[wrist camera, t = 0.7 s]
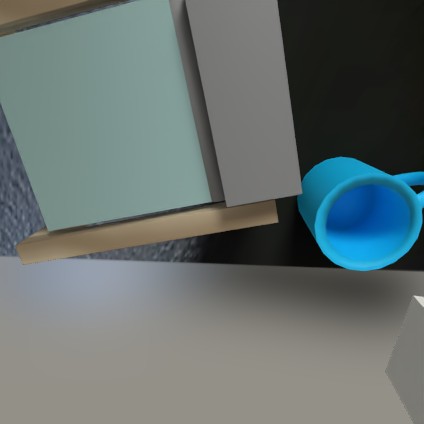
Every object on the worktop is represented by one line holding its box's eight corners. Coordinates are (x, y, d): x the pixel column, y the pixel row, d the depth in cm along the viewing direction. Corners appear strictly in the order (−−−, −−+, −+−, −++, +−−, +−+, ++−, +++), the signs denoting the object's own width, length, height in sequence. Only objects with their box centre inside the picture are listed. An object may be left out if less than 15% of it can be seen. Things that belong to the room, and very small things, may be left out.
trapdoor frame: (46, 50, 32) (-80, 14, 19) (234, 2, 29) (231, -75, 17) (97, 209, 36) (22, 264, 24) (262, 178, 34) (278, 222, 21)
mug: (310, 244, 36) (330, 283, 28) (286, 174, 34) (301, 194, 26) (426, 207, 34) (483, 237, 26) (409, 129, 32) (465, 137, 24)
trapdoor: (7, 50, 22) (-47, 37, 18) (263, -17, 20) (270, -50, 16) (66, 219, 25) (32, 241, 21) (290, 177, 23) (302, 193, 19)
